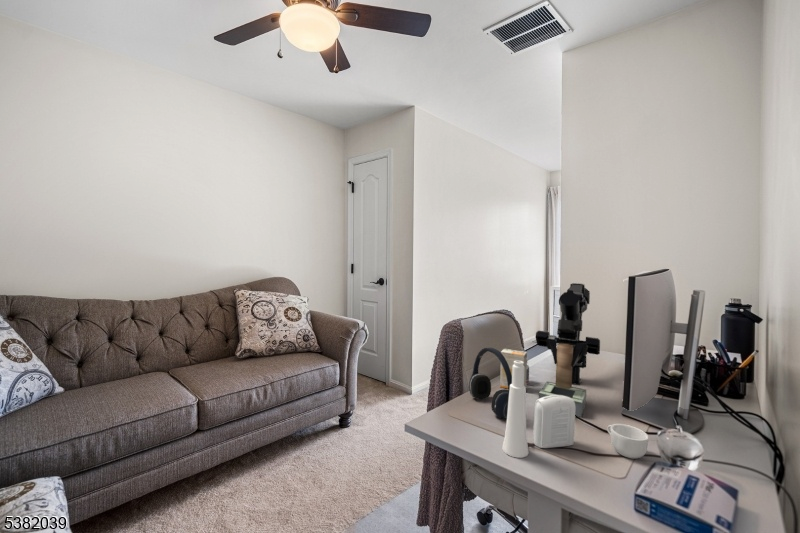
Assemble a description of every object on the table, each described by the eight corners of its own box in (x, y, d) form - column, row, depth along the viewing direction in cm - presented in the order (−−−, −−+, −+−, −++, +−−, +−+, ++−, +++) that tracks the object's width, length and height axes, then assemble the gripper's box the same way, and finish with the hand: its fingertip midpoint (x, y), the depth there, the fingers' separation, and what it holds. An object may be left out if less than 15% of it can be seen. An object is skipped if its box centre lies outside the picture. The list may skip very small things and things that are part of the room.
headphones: (520, 421, 101) (523, 358, 100) (499, 424, 99) (502, 359, 98) (483, 393, 120) (485, 340, 120) (465, 395, 118) (467, 341, 117)
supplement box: (526, 388, 126) (527, 351, 125) (523, 392, 122) (524, 355, 121) (503, 383, 130) (504, 347, 130) (499, 387, 126) (500, 350, 125)
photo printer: (565, 437, 93) (567, 391, 92) (576, 446, 89) (579, 397, 88) (530, 441, 91) (532, 393, 90) (540, 450, 86) (542, 401, 86)
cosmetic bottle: (498, 444, 89) (501, 357, 88) (521, 443, 89) (525, 357, 88) (508, 458, 83) (511, 365, 82) (533, 457, 83) (536, 365, 82)
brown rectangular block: (561, 382, 115) (563, 342, 114) (574, 387, 111) (576, 346, 110) (552, 384, 113) (554, 344, 112) (565, 389, 109) (566, 348, 108)
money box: (546, 394, 121) (546, 381, 120) (585, 403, 114) (586, 389, 114) (538, 406, 111) (538, 392, 110) (581, 417, 104) (581, 402, 104)
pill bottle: (526, 380, 134) (527, 357, 133) (530, 385, 128) (531, 361, 128) (512, 379, 134) (513, 356, 134) (515, 384, 129) (516, 360, 128)
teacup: (655, 460, 83) (656, 438, 83) (629, 465, 81) (631, 442, 81) (618, 438, 93) (619, 418, 93) (595, 442, 91) (596, 421, 91)
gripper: (537, 306, 119) (529, 346, 110) (601, 312, 109) (598, 357, 101) (541, 325, 126) (533, 364, 117) (601, 333, 116) (598, 376, 108)
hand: (563, 365), depth 111 cm, fingers closed on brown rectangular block, 5 cm apart
